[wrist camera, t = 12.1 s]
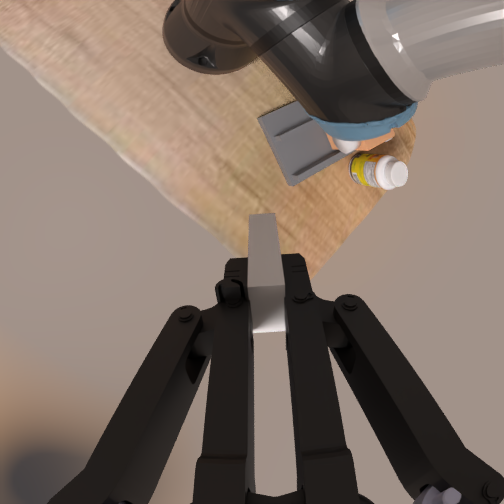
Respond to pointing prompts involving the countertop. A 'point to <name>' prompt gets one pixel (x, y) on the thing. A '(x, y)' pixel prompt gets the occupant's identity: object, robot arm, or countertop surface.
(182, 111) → the countertop surface
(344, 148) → the orange rectangular block
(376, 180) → the supplement bottle
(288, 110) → the mount
